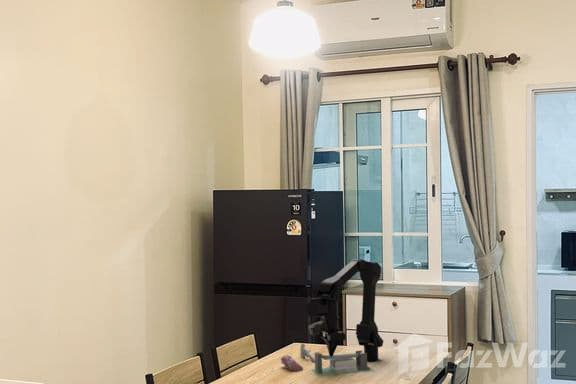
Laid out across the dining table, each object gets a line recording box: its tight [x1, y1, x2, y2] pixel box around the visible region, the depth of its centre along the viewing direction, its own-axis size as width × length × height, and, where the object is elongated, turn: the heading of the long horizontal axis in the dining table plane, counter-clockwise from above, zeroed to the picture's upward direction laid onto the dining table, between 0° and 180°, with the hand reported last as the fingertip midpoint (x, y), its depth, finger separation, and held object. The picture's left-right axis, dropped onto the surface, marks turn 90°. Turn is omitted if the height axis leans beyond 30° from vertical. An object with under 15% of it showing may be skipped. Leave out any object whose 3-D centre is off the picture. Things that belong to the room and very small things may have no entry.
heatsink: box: [329, 358, 357, 374], centre depth 255 cm, size 8×8×4 cm
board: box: [310, 367, 374, 377], centre depth 255 cm, size 10×22×1 cm, turn 104°
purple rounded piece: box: [280, 354, 304, 372], centre depth 260 cm, size 10×5×7 cm, turn 24°
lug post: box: [314, 351, 324, 373], centre depth 253 cm, size 4×2×7 cm, turn 14°
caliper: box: [300, 343, 315, 364], centre depth 273 cm, size 20×1×6 cm, turn 22°
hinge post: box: [355, 350, 371, 371], centre depth 257 cm, size 7×4×6 cm, turn 14°
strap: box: [322, 352, 361, 361], centre depth 255 cm, size 3×16×2 cm, turn 104°
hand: (331, 356), depth 254 cm, fingers closed, pressing on strap
